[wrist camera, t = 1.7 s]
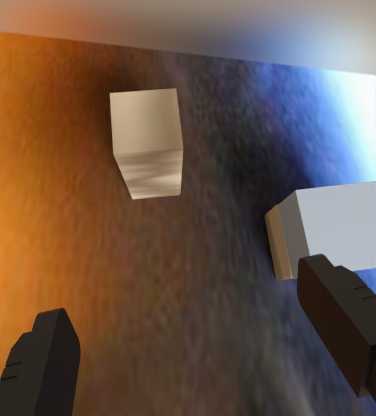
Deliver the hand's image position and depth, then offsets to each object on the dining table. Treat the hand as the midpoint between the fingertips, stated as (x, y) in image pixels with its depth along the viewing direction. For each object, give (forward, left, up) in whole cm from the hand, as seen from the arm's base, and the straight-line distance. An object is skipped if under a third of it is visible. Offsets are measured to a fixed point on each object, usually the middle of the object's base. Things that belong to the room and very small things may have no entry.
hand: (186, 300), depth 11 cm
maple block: (-1, +12, -18) cm, 21 cm away
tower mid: (+12, +3, -14) cm, 19 cm away
